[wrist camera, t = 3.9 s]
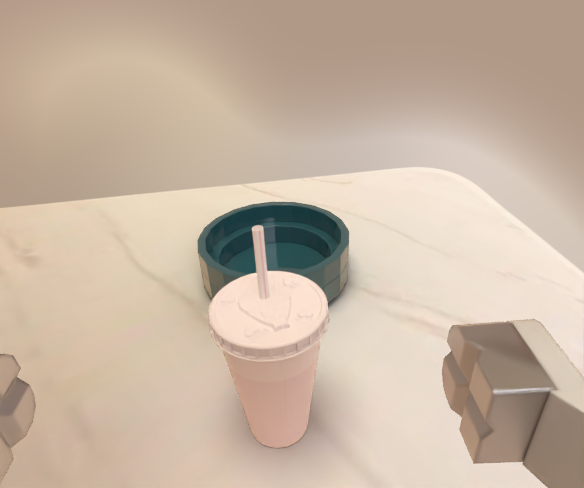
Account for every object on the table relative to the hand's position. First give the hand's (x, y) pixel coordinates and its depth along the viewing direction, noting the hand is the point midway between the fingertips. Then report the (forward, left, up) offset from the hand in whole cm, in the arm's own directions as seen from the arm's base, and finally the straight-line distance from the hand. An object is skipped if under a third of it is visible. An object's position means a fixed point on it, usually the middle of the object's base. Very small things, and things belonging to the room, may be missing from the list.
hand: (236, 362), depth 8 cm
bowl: (-20, +20, -18) cm, 34 cm away
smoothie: (-9, +9, -18) cm, 22 cm away
